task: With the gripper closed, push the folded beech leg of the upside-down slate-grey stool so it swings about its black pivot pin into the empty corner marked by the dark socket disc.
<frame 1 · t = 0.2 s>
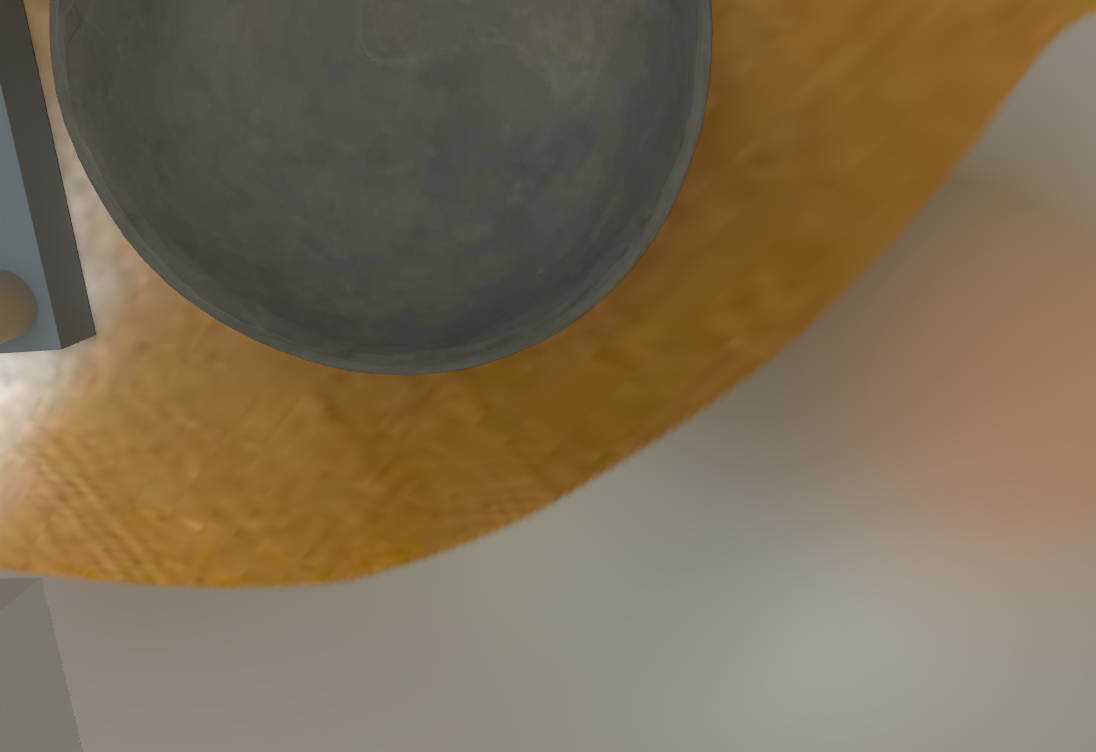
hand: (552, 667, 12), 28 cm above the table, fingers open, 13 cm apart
bowl: (430, 56, 37), on the table
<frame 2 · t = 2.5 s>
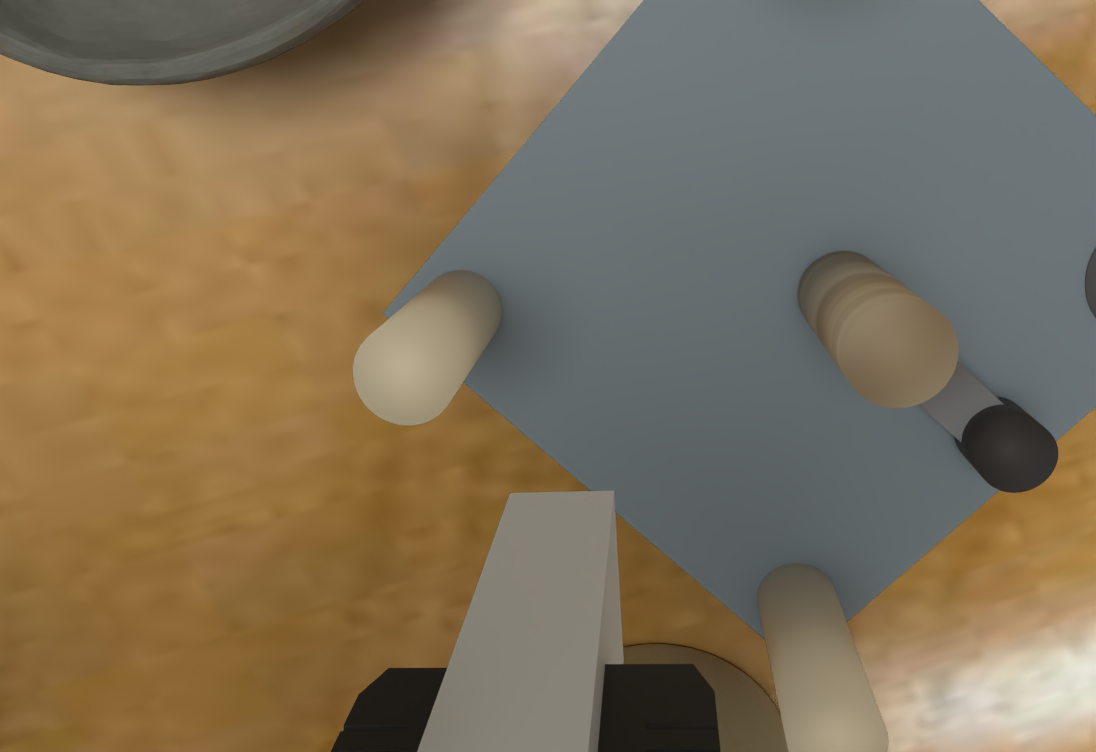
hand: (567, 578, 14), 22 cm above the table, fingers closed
stool seat: (785, 279, 34), on the table
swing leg: (950, 396, 28), point 7 cm above the table, hinge at 90.0°
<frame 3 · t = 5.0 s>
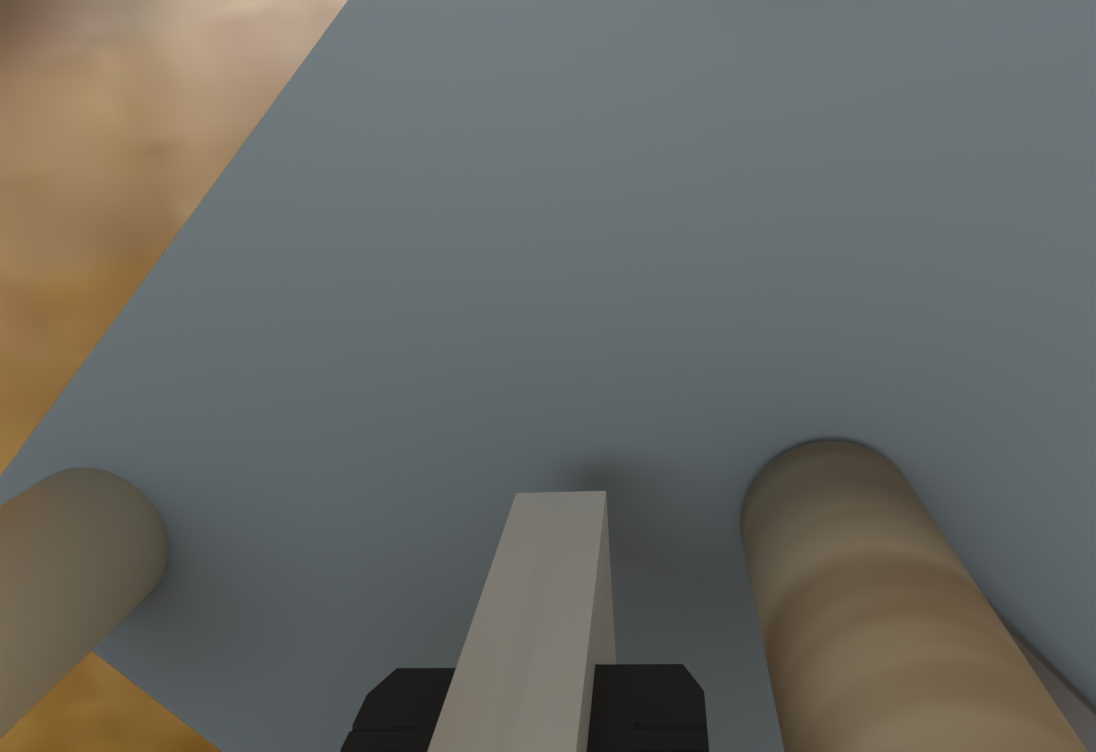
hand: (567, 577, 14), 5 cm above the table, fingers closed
stool seat: (714, 472, 19), on the table
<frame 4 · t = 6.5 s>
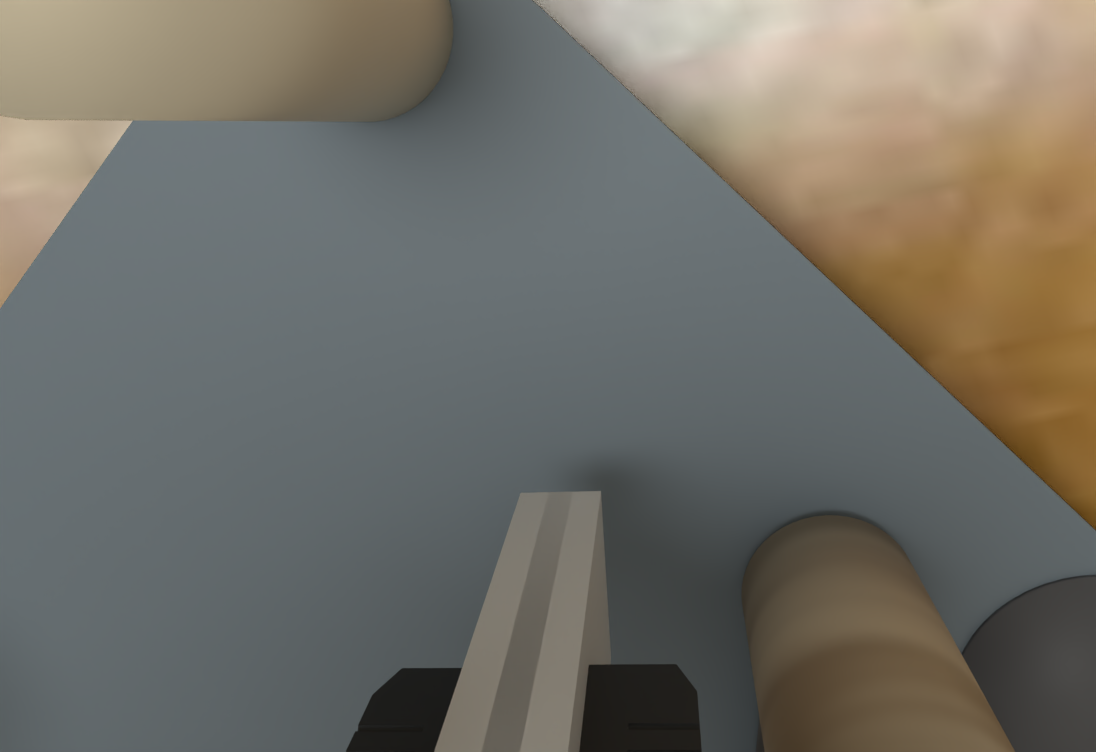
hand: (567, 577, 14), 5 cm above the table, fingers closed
stool seat: (457, 616, 20), on the table
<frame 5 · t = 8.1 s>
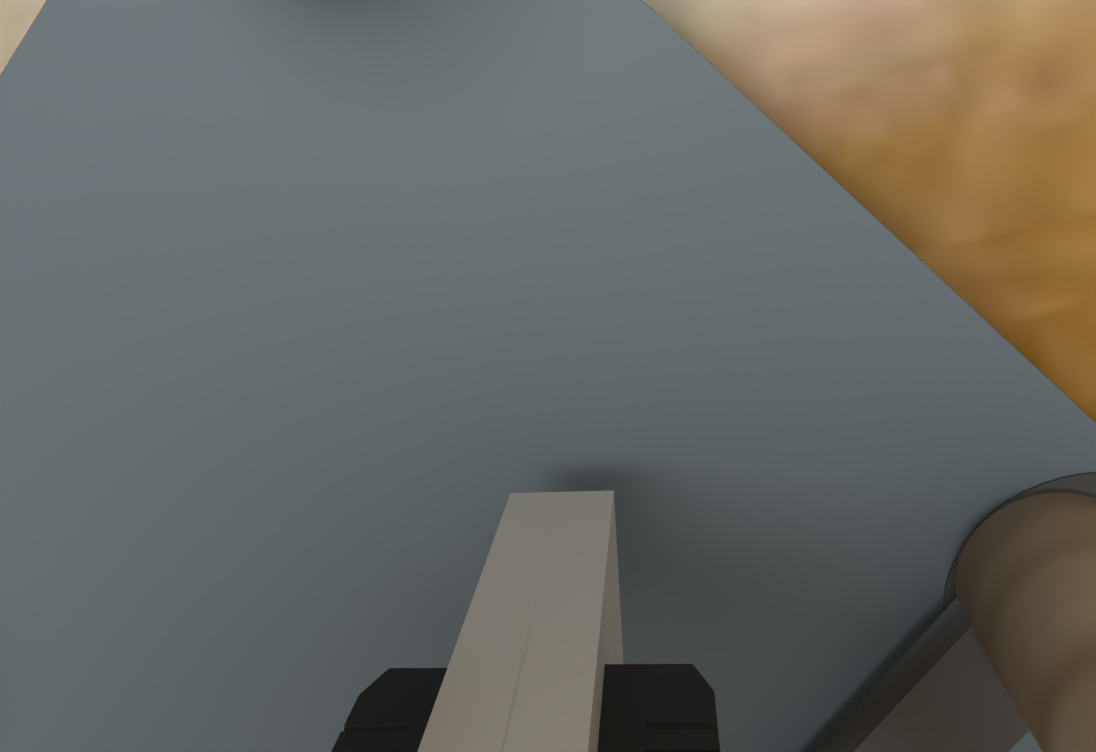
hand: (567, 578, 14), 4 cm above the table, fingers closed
stool seat: (423, 542, 19), on the table
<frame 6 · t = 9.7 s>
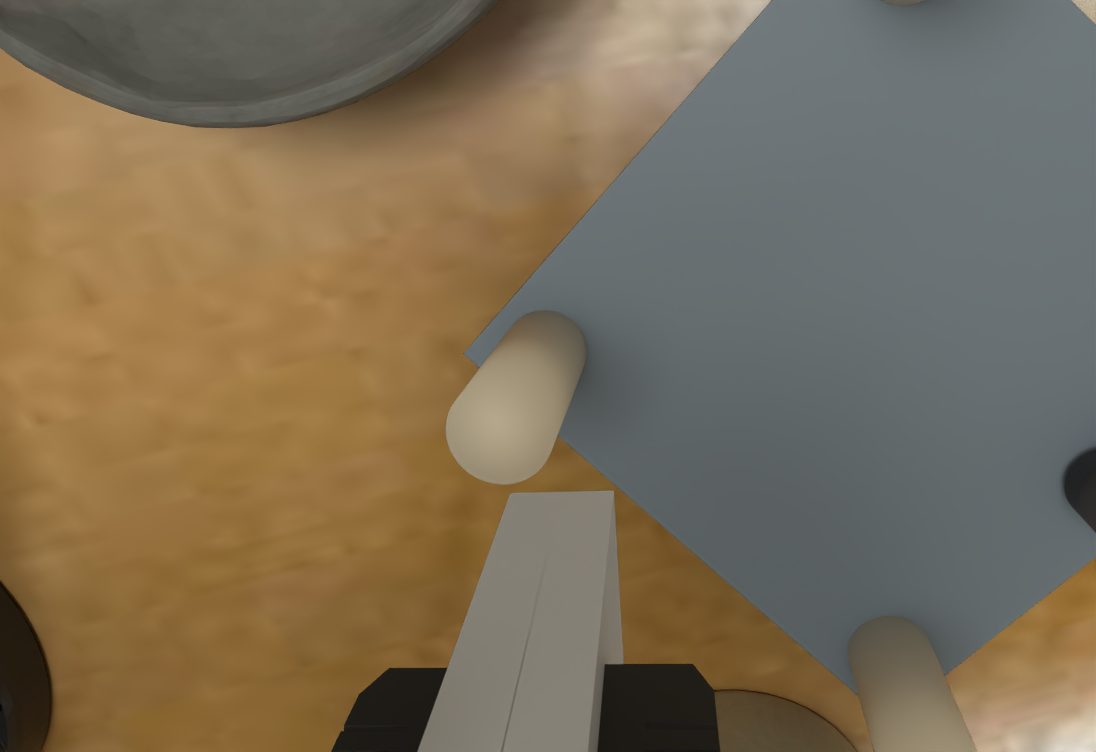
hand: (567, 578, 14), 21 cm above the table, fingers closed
stool seat: (882, 319, 33), on the table
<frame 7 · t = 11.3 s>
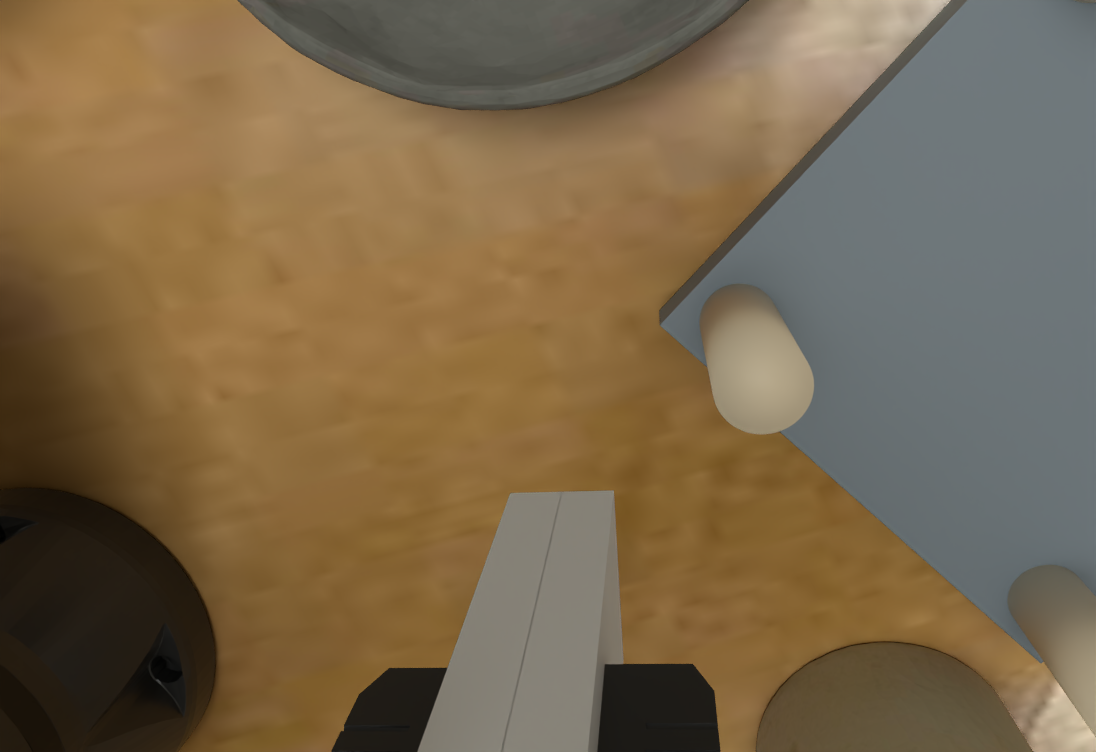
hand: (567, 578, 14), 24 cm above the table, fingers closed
stool seat: (1041, 292, 36), on the table
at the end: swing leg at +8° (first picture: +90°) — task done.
